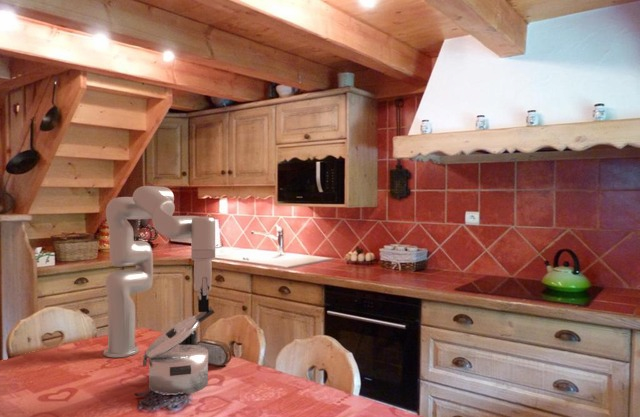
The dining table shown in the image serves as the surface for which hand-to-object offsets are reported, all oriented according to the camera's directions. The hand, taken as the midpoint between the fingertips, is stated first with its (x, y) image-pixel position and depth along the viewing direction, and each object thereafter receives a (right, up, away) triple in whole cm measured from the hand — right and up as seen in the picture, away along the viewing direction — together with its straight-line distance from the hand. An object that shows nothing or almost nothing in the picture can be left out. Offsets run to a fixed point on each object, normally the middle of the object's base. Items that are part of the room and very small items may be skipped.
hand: (203, 311), depth 150 cm
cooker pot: (-7, -23, -2) cm, 24 cm away
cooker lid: (-7, -7, -2) cm, 10 cm away
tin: (-1, -23, +17) cm, 29 cm away
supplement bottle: (-13, -23, +26) cm, 37 cm away
